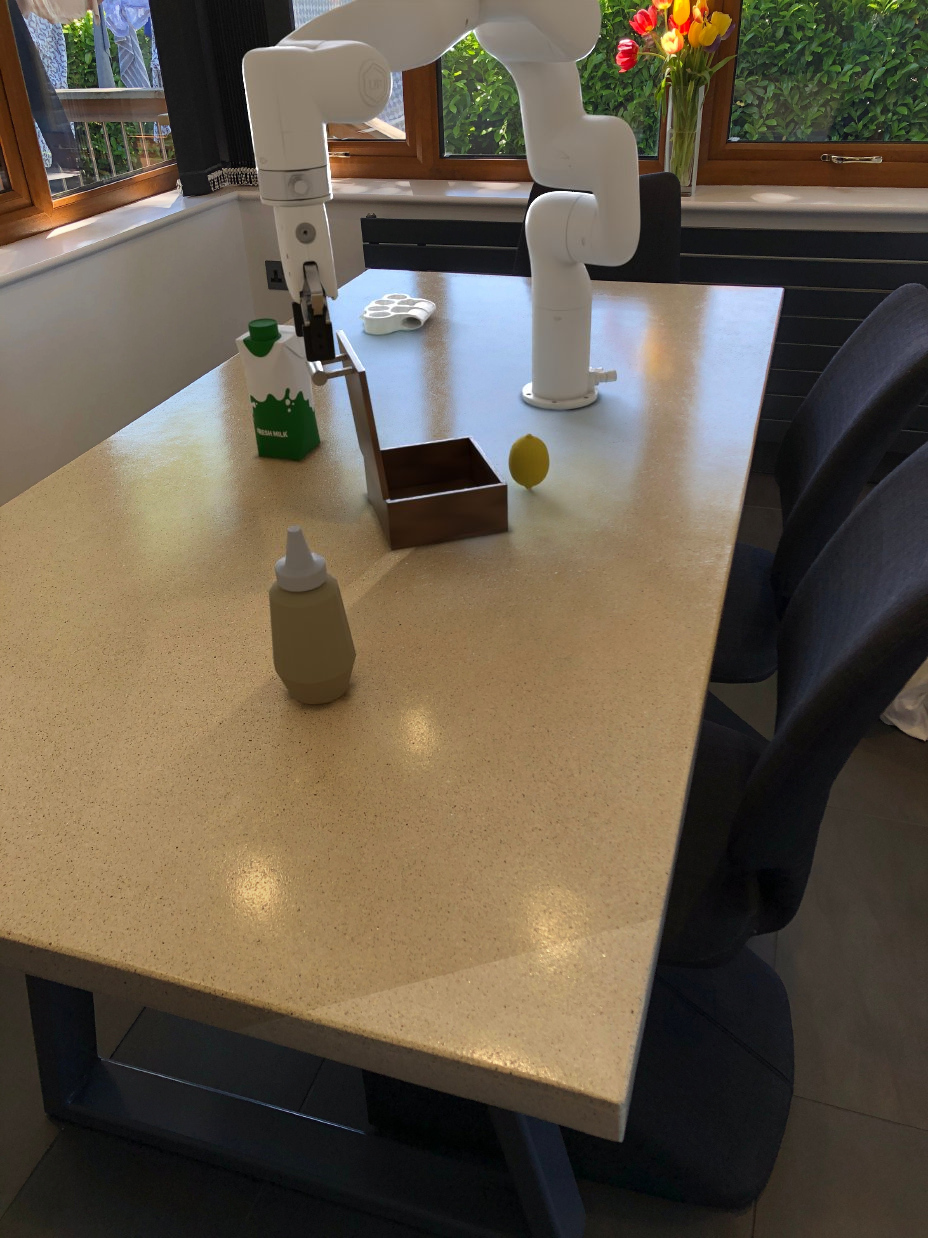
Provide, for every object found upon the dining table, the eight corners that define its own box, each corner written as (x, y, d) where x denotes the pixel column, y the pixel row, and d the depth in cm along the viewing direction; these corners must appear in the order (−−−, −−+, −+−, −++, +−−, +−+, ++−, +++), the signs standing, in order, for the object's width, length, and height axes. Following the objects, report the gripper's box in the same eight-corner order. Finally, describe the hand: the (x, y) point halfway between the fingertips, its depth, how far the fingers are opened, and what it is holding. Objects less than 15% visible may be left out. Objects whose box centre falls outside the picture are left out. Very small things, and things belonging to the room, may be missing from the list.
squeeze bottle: (282, 666, 95) (253, 511, 85) (360, 660, 96) (340, 504, 86) (275, 716, 89) (243, 554, 79) (359, 709, 89) (338, 547, 79)
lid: (341, 328, 114) (297, 338, 113) (365, 370, 101) (315, 381, 100) (365, 447, 123) (324, 456, 123) (389, 499, 110) (344, 510, 110)
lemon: (546, 498, 124) (547, 443, 120) (505, 496, 125) (505, 441, 121) (551, 481, 129) (552, 426, 124) (512, 478, 130) (511, 425, 125)
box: (473, 478, 130) (471, 435, 127) (508, 531, 117) (507, 484, 114) (367, 495, 127) (362, 450, 124) (391, 551, 114) (386, 503, 111)
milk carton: (250, 458, 139) (226, 325, 128) (279, 435, 146) (258, 307, 135) (302, 464, 136) (282, 329, 125) (329, 440, 143) (312, 310, 132)
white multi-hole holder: (418, 335, 186) (349, 333, 189) (439, 310, 200) (375, 308, 203) (417, 319, 184) (347, 317, 187) (438, 294, 198) (373, 292, 201)
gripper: (344, 195, 91) (360, 366, 100) (319, 170, 104) (335, 323, 114) (267, 201, 89) (291, 374, 99) (252, 175, 103) (274, 330, 112)
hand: (315, 347), depth 106 cm, fingers open, 9 cm apart
